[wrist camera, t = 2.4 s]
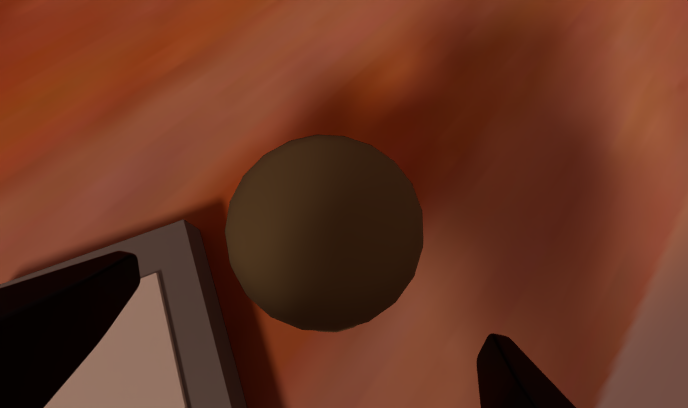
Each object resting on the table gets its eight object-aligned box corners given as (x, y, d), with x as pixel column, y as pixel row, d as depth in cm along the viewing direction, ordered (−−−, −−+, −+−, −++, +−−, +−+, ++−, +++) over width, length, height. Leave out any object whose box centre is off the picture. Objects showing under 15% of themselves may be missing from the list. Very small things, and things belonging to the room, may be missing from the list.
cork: (335, 199, 19) (334, 56, 9) (409, 276, 18) (515, 218, 7) (252, 269, 18) (130, 199, 7) (326, 359, 16) (308, 436, 6)
